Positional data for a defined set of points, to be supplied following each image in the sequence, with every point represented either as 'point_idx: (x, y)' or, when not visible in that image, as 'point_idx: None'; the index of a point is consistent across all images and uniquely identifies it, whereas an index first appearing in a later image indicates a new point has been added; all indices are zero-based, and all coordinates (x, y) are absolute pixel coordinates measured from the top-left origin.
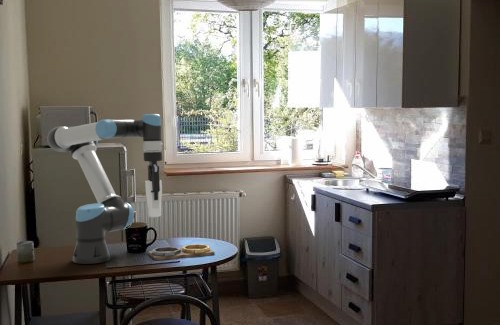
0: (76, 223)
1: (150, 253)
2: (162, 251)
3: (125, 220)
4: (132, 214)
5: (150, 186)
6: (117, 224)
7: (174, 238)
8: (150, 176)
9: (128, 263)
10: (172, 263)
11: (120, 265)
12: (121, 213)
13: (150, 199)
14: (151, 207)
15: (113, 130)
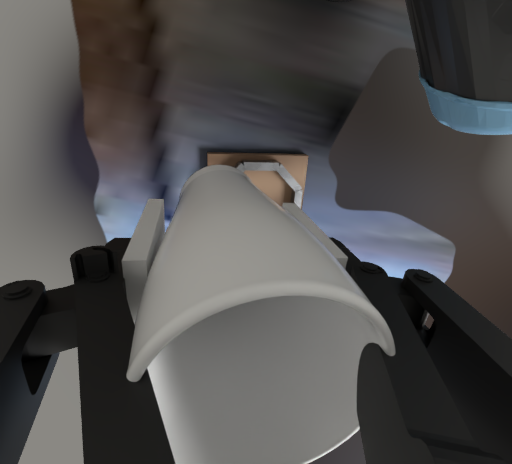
0: None
1: (279, 155)
2: (283, 196)
3: (428, 70)
4: (461, 121)
5: (150, 290)
6: (411, 12)
7: (449, 265)
8: (400, 438)
9: (196, 47)
10: (143, 193)
11: (173, 4)
12: (465, 34)
13: (176, 212)
14: (182, 196)
15: None
